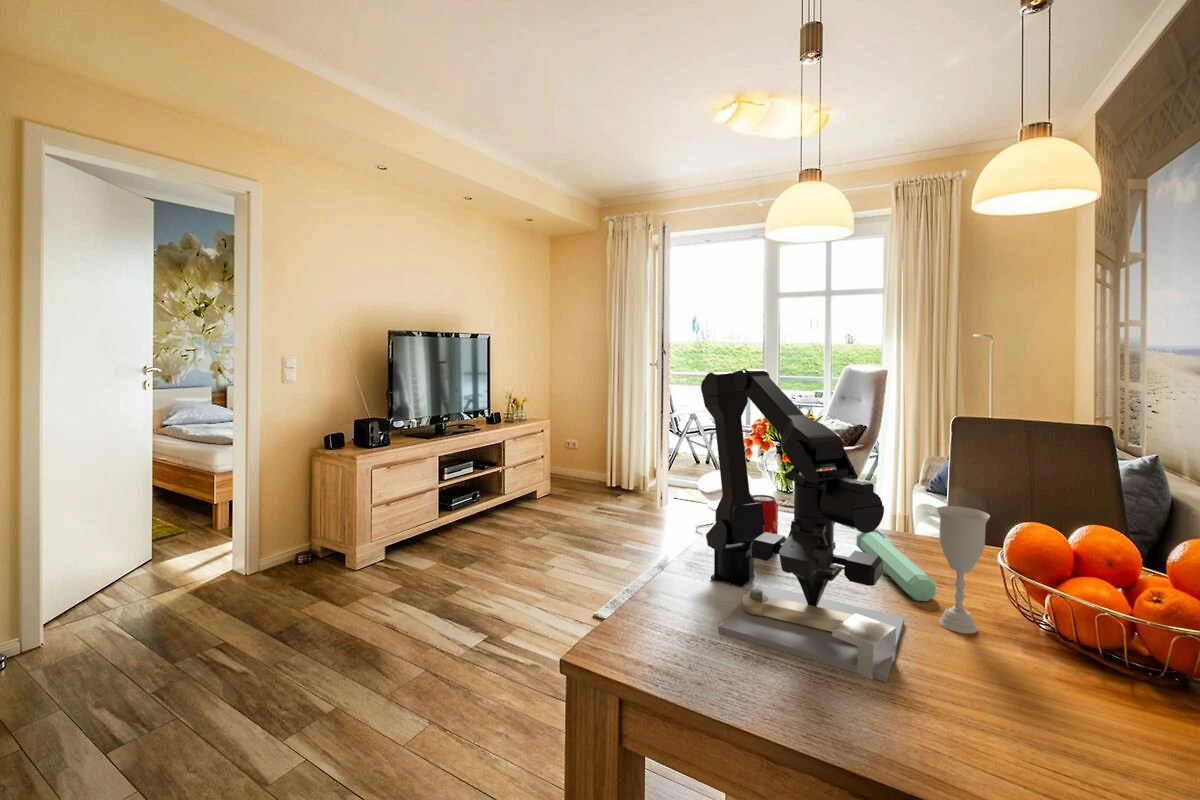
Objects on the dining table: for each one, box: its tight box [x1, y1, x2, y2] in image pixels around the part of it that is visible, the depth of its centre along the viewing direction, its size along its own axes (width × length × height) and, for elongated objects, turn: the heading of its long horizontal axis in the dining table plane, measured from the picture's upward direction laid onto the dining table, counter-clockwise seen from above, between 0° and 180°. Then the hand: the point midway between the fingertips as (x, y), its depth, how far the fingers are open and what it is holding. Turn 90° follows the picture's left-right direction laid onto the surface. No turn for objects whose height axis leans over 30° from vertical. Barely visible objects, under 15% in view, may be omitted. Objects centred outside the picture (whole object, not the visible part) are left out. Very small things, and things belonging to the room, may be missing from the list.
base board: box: [718, 583, 905, 683], centre depth 85 cm, size 23×19×1 cm
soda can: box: [751, 494, 779, 535], centre depth 118 cm, size 6×6×12 cm
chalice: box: [936, 505, 991, 634], centre depth 85 cm, size 7×7×18 cm
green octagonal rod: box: [855, 528, 936, 602], centre depth 105 cm, size 6×6×25 cm
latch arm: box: [742, 588, 873, 632], centre depth 84 cm, size 19×4×3 cm, turn 59°
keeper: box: [832, 614, 896, 681], centre depth 75 cm, size 6×7×5 cm
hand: (813, 608), depth 86 cm, fingers closed
